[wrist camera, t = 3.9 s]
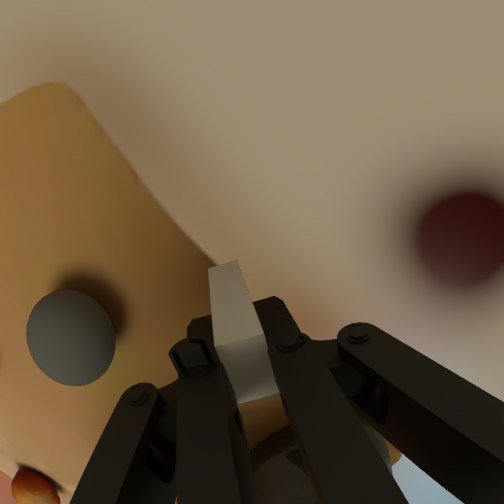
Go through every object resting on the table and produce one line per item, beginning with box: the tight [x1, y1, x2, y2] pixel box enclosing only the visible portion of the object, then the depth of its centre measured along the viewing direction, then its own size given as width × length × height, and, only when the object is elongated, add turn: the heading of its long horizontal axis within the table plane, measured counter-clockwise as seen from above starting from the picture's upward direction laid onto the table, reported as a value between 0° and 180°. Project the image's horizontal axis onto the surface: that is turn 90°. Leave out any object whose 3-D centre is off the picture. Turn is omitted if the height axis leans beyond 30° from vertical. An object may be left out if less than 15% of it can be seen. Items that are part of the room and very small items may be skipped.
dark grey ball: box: [26, 290, 115, 386], centre depth 13 cm, size 6×6×6 cm
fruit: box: [11, 468, 60, 504], centre depth 18 cm, size 8×8×8 cm
